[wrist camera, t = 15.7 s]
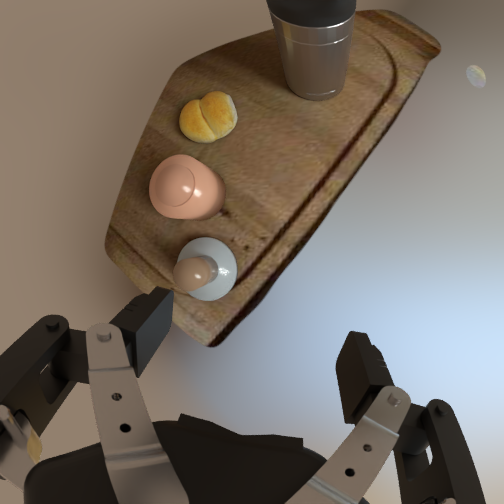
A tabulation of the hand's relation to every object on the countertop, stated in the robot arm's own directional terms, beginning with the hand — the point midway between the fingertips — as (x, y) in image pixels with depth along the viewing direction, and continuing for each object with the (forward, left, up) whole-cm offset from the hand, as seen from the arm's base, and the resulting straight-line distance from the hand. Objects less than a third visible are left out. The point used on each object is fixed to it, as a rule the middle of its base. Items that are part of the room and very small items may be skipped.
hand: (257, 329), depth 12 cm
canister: (-12, -12, -27) cm, 32 cm away
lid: (-1, -12, -27) cm, 30 cm away
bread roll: (-24, -10, -28) cm, 38 cm away
